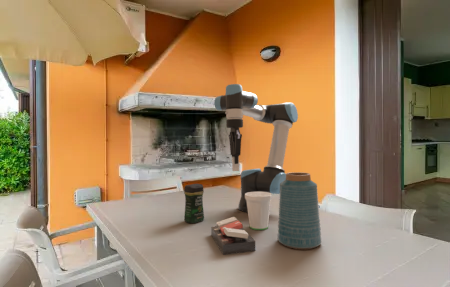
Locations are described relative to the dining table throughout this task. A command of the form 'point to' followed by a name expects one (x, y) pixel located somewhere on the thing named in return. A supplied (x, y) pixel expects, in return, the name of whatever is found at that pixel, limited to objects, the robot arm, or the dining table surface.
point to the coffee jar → (194, 203)
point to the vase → (299, 212)
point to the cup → (258, 209)
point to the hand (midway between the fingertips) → (235, 170)
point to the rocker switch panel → (232, 242)
